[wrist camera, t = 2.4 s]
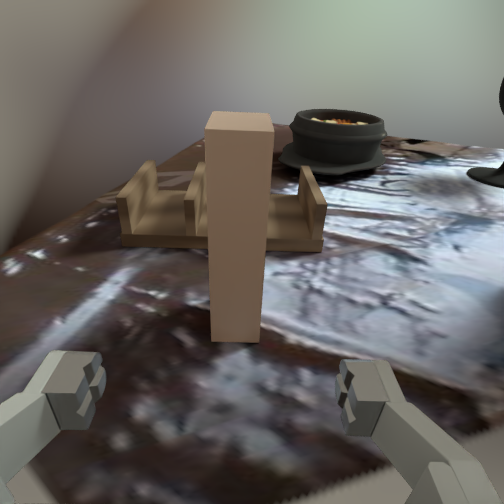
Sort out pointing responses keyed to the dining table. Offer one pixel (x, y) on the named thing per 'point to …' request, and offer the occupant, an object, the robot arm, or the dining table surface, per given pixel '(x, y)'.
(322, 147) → the casserole
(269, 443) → the dining table surface
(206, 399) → the dining table surface
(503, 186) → the wine glass
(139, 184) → the drying rack
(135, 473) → the dining table surface
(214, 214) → the beige rectangular block
